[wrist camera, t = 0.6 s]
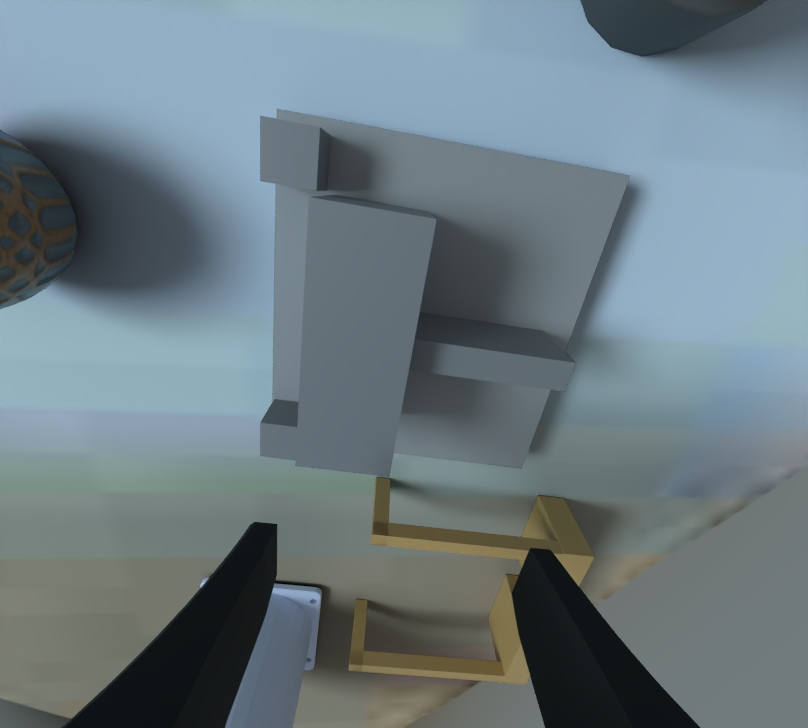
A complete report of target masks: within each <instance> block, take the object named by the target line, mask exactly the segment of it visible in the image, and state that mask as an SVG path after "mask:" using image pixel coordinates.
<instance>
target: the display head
mask: <svg viewBox="0 0 808 728" xmlns="http://www.w3.org/2000/svg"><path fill="white" fill-rule="evenodd" d="M629 178H630V175H625V174H619V173H614V172H609V171H604V170H598V169H593V168H588V167H582V166H577V165H572V164H567V163H561V162H556V161H551V160H545V159H540V158H535V157H530V156H524V155H519V154H514V153H509V152H503V151H498V150H493V149H487V148H482V147H477V146H472V145H466V144H461V143H456V142H450V141H445V140H440V139H435V138H429V137H424V136H419V135H414V134H408V133H403V132H398V131H392V130H387V129H382V128H377V127H371V126H366V125H361V124H355V123H350V122H345V121H340V120H334V119H329V118H324V117H319V116H313V115H308V114H303V113H297V112H292V111H287V110H282V109H277V119H275V118H270V117H264V116H260V181H263V182H269V183H275V184H276V198H275V263H274V328H273V393H272V404H271V406H270V407H269V409H268V411H267V412H266V414H265V416H264V418H263V419H262V421H261V423H260V456H264V457H272V458H281V459H289V460H296V464H295V466H302V467H310V468H319V469H327V470H336V471H345V472H353V473H362V474H370V475H379V476H387V477H389V475H390V469H391V464H392V458H393V453H398V454H406V455H415V456H423V457H431V458H439V459H447V460H455V461H464V462H472V463H480V464H488V465H496V466H504V467H513V468H521V469H522V467H523V464H524V461H525V458H526V456H527V453H528V450H529V448H530V445H531V442H532V440H533V437H534V434H535V431H536V429H537V426H538V423H539V421H540V418H541V415H542V413H543V410H544V407H545V404H546V402H547V399H548V396H549V394H550V391H551V390H554V391H562V392H565V391H566V388H567V385H568V383H569V380H570V378H571V375H572V373H573V370H574V367H575V365H576V362H575V361H574V360H573V359H572V358H571V357H570V356H569V355H568V354H566V353H565V351H566V348H567V345H568V342H569V340H570V337H571V334H572V332H573V329H574V326H575V324H576V321H577V318H578V316H579V313H580V310H581V307H582V305H583V302H584V299H585V297H586V294H587V291H588V289H589V286H590V283H591V280H592V278H593V275H594V272H595V270H596V267H597V264H598V262H599V259H600V256H601V253H602V251H603V248H604V245H605V243H606V240H607V237H608V235H609V232H610V229H611V227H612V224H613V221H614V218H615V216H616V213H617V210H618V208H619V205H620V202H621V200H622V197H623V194H624V191H625V189H626V186H627V183H628V181H629Z"/></svg>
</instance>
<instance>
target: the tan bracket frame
mask: <svg viewBox="0 0 808 728" xmlns="http://www.w3.org/2000/svg"><path fill="white" fill-rule="evenodd" d="M389 502H390V479H389V478H380V477H377V478H376V484H375V494H374V506H373V518H372V531H371V543H370V544H371V545H381V546H391V547H400V548H410V549H420V550H430V551H440V552H449V553H459V554H469V555H479V556H488V557H498V558H508V559H518V560H519V562H520V565H521V568H522V566H523V564H524V561H525V559H526V556H527V554H528V552H529V549H530V548H540V549H550V550H551V551H552V552H553V553H554V555H555V556H556V557H557V559H558V560H559V561H560V562H561V564H562V565H563V566H564V568H565V569H566V570H567V572H568V573H569V574H570V576H571V577H572V578H573V580H574V581H575V582H576V584H577V585H578V586H579V585H580V584H581V582H582V580H583V578H584V576H585V574H586V572H587V571H588V569H589V567H590V565H591V563H592V561H593V560H594V558H595V556H594V554H593V552H592V551H591V549H590V547H589V545H588V543H587V541H586V539H585V537H584V536H583V534H582V532H581V530H580V528H579V526H578V524H577V522H576V521H575V519H574V517H573V515H572V513H571V511H570V509H569V507H568V506H567V504H566V502H565V500H564V498H557V497H549V496H540V495H538V497H537V500H536V502H535V505H534V507H533V509H532V512H531V514H530V517H529V519H528V522H527V524H526V526H525V529H524V531H523V534H522V536H521V537H516V536H507V535H497V534H488V533H479V532H469V531H460V530H451V529H441V528H432V527H423V526H413V525H404V524H395V523H389ZM517 579H518V576H516V575H505V578H504V580H503V583H502V585H501V587H500V590H499V592H498V595H497V597H496V600H495V602H494V605H493V607H492V609H491V612H490V614H489V617H488V620H489V625H490V629H491V634H492V639H493V644H494V649H495V654H496V658H497V661H486V660H474V659H461V658H449V657H436V656H424V655H411V654H399V653H386V652H374V651H364V639H365V626H366V613H367V600H359V599H356V604H355V612H354V622H353V631H352V641H351V650H350V660H349V669H348V671H359V672H372V673H386V674H399V675H412V676H425V677H439V678H452V679H465V680H478V681H493V682H502V683H513V684H526V683H527V681H528V679H529V677H530V673H529V670H528V666H527V663H526V659H525V656H524V652H523V649H522V645H521V641H520V638H519V634H518V629H517V623H516V618H515V612H514V606H513V600H512V591H513V589H514V586H515V584H516V581H517Z"/></svg>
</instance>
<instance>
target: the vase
mask: <svg viewBox="0 0 808 728" xmlns="http://www.w3.org/2000/svg"><path fill="white" fill-rule="evenodd" d="M76 239H77V225H76V219H75V215H74V211H73V208H72V205H71V203H70V200H69V198H68V196H67V194H66V193H65V191H64V189H63V187H62V186H61V184H60V183H59V181H58V180H57V179H56V177H55V176H54V175H53V174H52V172H51V171H50V170H49V169H48V168H47V167H46V166H45V165H44V164H43V163H42V162H41V160H40V159H39V158H38V157H37V156H35V155H34V154H33V153H32V152H31V151H30V150H29V149H27V148H26V147H25V146H24V145H22V144H21V143H20V142H18V141H17V140H15V139H14V138H12V137H11V136H9V135H8V134H6V133H4V132H3V131H1V130H0V309H2V308H5V307H8V306H11V305H14V304H16V303H19V302H21V301H24V300H26V299H28V298H30V297H32V296H34V295H35V294H37V293H39V292H40V291H42V290H43V289H45V288H46V287H48V286H49V285H50V284H51V283H52V282H54V281H55V280H56V279H57V278H58V277H59V276H60V275H61V274H62V272H63V271H64V270H65V269H66V267H67V266H68V264H69V263H70V261H71V259H72V257H73V254H74V251H75V246H76Z"/></svg>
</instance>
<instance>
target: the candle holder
mask: <svg viewBox="0 0 808 728" xmlns="http://www.w3.org/2000/svg"><path fill="white" fill-rule="evenodd" d="M765 1H767V0H581V2H582V5H583V8H584V12H585V15H586V18H587V21H588V23H589V24H590V25H591V26H592V27H593V28H594V29H595V30H596V31H597V32H598V33H599V34H600V35H601V37H602V38H603V39H604V40H605V41H606V42H607V43H608V44H609V45H610V46H611V47H613V48H616V49H620V50H623V51H626V52H630V53H633V54H636V55H639V56H645V55H650V54H654V53H659V52H664V51H669V50H674V49H677V48H679V47H681V46H683V45H685V44H687V43H689V42H691V41H693V40H695V39H697V38H699V37H700V36H702V35H704V34H706V33H708V32H710V31H712V30H714V29H716V28H718V27H720V26H722V25H724V24H726V23H728V22H730V21H732V20H734V19H736V18H738V17H740V16H742V15H744V14H746V13H748V12H750V11H752V10H753V9H755V8H756V7H758V6H759V5H761V4H762V3H764V2H765Z"/></svg>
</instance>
